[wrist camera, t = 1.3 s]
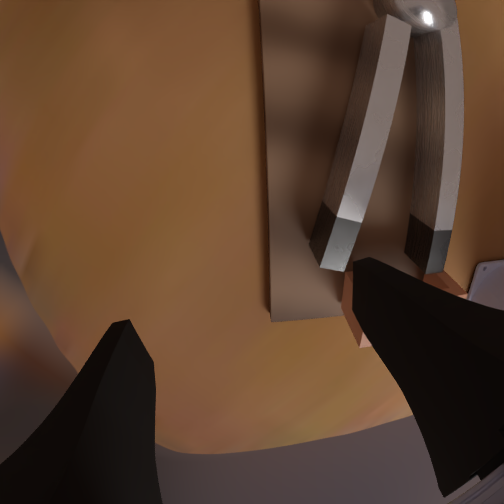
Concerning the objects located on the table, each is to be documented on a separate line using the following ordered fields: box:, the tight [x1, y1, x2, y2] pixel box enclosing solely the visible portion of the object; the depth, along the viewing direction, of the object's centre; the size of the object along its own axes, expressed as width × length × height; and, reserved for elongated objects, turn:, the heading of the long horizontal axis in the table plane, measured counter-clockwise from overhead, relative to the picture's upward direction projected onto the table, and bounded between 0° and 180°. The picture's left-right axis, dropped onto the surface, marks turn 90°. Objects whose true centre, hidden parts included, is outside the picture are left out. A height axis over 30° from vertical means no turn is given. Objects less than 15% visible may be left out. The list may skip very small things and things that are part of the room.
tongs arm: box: [309, 14, 412, 272], centre depth 15 cm, size 14×2×3 cm, turn 168°
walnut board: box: [258, 0, 425, 322], centre depth 17 cm, size 25×14×1 cm, turn 3°
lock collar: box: [341, 270, 468, 348], centre depth 18 cm, size 3×8×6 cm, turn 92°
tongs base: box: [373, 0, 464, 274], centre depth 14 cm, size 19×4×4 cm, turn 3°
